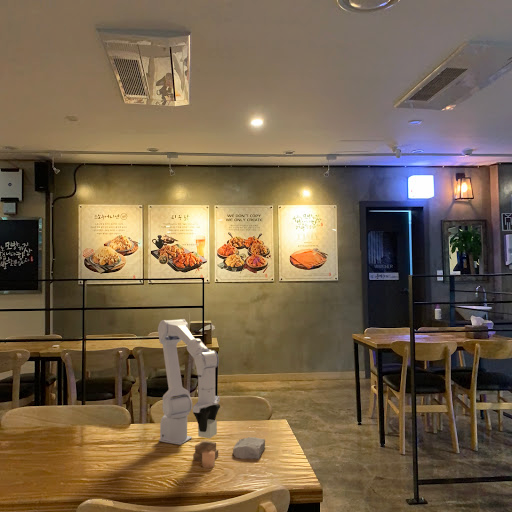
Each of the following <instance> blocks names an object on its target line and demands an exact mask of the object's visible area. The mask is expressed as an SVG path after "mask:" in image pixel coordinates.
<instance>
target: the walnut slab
mask: <svg viewBox="0 0 512 512" xmlns="http://www.w3.org/2000/svg"><path fill="white" fill-rule="evenodd" d="M214 452H215V459H217V458H219V449H216V451H214ZM192 456H193V459H192V460H193V461H197V462H201V463H202V454H197V453H195V452H193V454H192Z"/></svg>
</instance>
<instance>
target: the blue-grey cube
mask: <svg viewBox="0 0 512 512" xmlns="http://www.w3.org/2000/svg"><path fill="white" fill-rule="evenodd" d="M217 421H218V420H217V419H215V420H211V419H208V421H207V429H206V432H201V431H200V430H199V426H197V434H198V435H197V436H198V437H200V438H206V439H211V438H213V437H214V436H216V435H218V434H217V433H218V430H217V429H218V424H217Z"/></svg>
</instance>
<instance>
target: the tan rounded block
mask: <svg viewBox="0 0 512 512" xmlns="http://www.w3.org/2000/svg"><path fill="white" fill-rule="evenodd" d="M201 466H202V468H204V469H213V468H215V466H216V458H215V452H214V451H211V450H208V451H204V452H202V462H201Z"/></svg>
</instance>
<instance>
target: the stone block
mask: <svg viewBox="0 0 512 512" xmlns="http://www.w3.org/2000/svg"><path fill="white" fill-rule="evenodd" d="M265 448H266V439H265V438H259V437H253V436H249V437H244V438H241V439H239V440H238V441H237V442H236V443H235V445H234V446H233V448H232V453H233V454H232V455H233V456H234V457H235V458H237V459H249V460H260V457H261V455H262V453H263V452H264V450H265Z"/></svg>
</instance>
